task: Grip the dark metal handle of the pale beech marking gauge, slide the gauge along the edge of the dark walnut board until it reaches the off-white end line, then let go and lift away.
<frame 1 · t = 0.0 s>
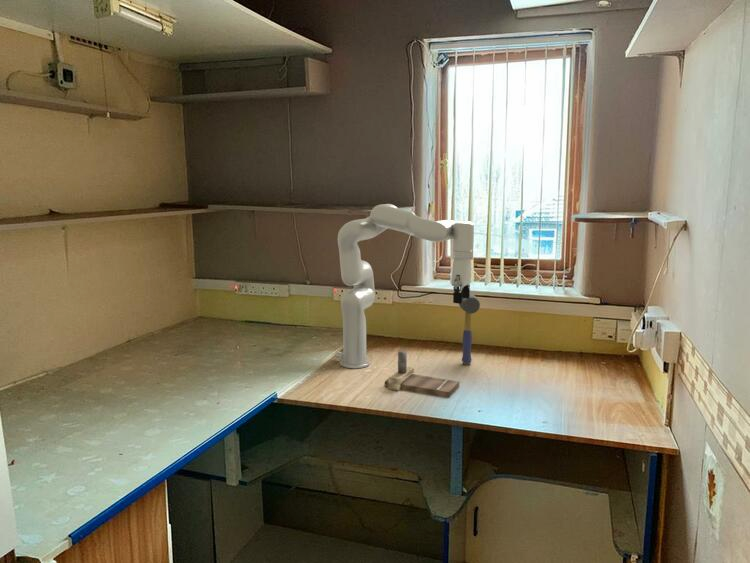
hand: (461, 300, 214), 31 cm above the table, tool pointing down, fingers open, 9 cm apart
walnut board: (421, 386, 213), on the table
marking gauge: (401, 367, 215), point 6 cm above the table, slide at -8.0 cm
rubber mallet: (466, 364, 239), on the table
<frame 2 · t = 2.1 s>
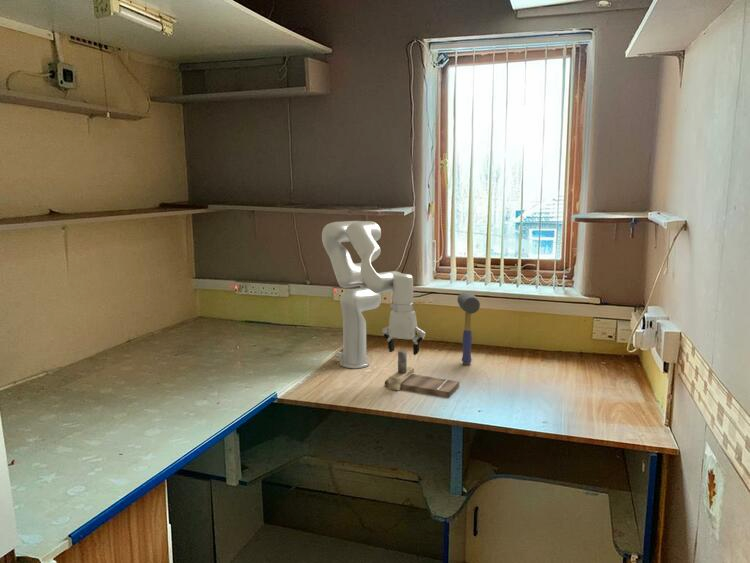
hand: (403, 352, 214), 12 cm above the table, tool pointing down, fingers open, 9 cm apart
nothing on the table moved.
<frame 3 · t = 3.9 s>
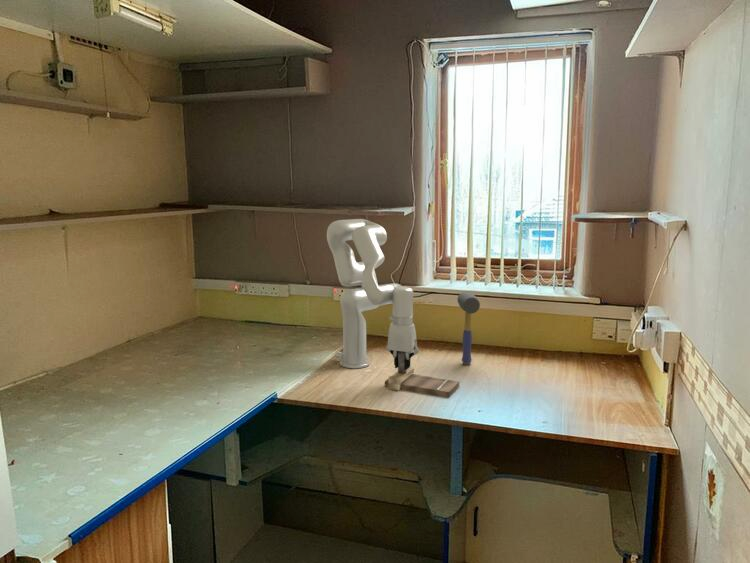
hand: (402, 367, 215), 6 cm above the table, tool pointing down, fingers closed on marking gauge, 3 cm apart
marking gauge: (401, 367, 215), point 6 cm above the table, slide at -8.0 cm, touching gripper
everything else where it was.
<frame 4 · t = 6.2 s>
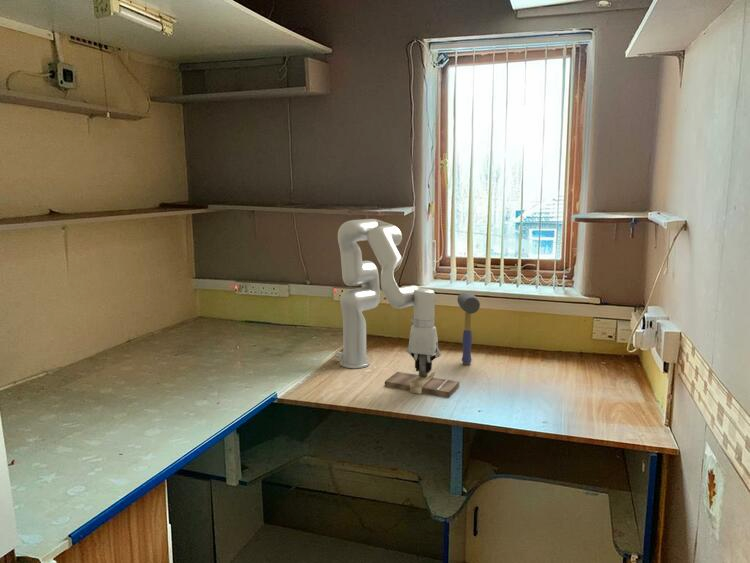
hand: (423, 370, 212), 6 cm above the table, tool pointing down, fingers closed on marking gauge, 3 cm apart
marking gauge: (422, 370, 211), point 6 cm above the table, slide at 0.4 cm, touching gripper
everything else where it was.
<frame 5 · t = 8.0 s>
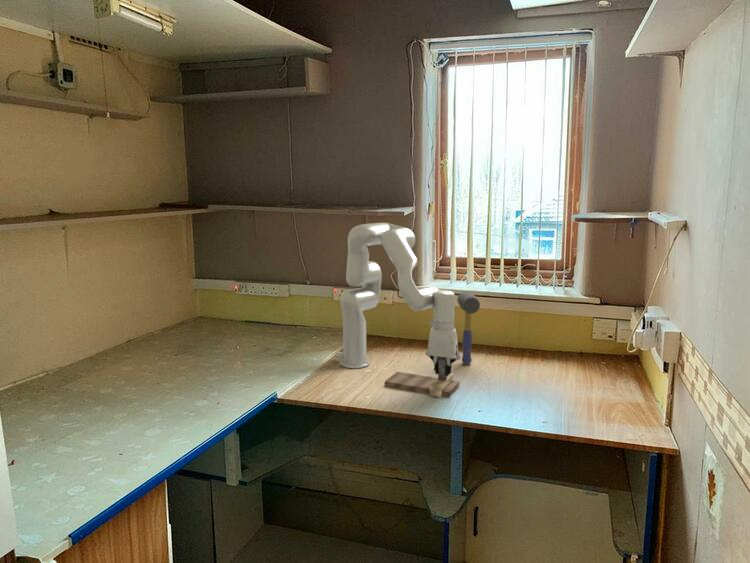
hand: (442, 373, 208), 6 cm above the table, tool pointing down, fingers closed on marking gauge, 3 cm apart
marking gauge: (442, 373, 208), point 6 cm above the table, slide at 7.9 cm, touching gripper
everything else where it was.
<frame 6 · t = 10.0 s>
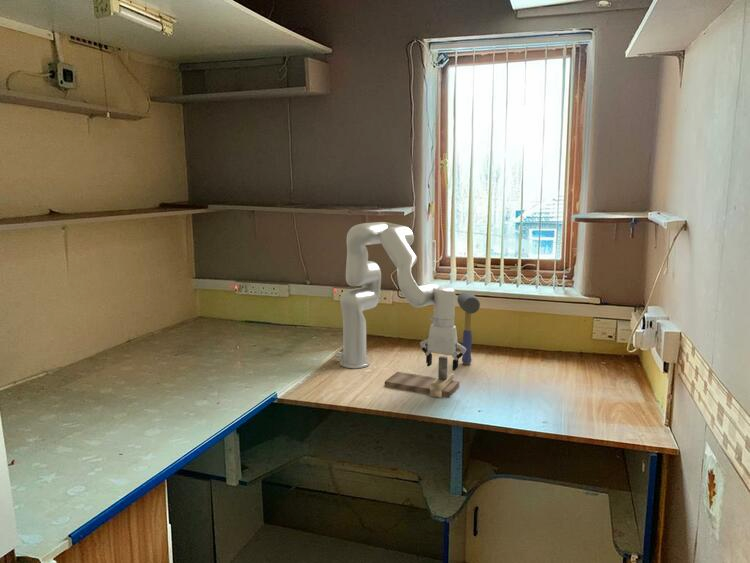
hand: (441, 367, 208), 8 cm above the table, tool pointing down, fingers open, 9 cm apart
marking gauge: (442, 373, 208), point 6 cm above the table, slide at 8.0 cm
everything else where it was.
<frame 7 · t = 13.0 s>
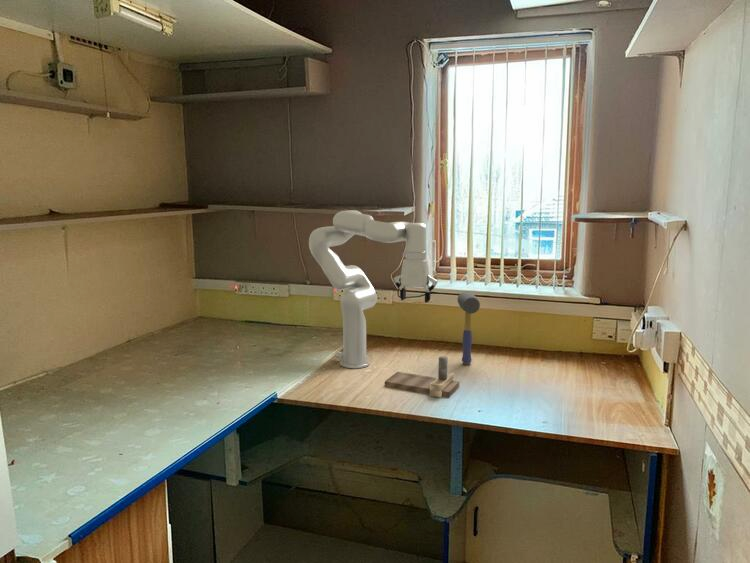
hand: (415, 300, 218), 30 cm above the table, tool pointing down, fingers open, 9 cm apart
nothing on the table moved.
at the end: marking gauge slide at 8.0 cm; the gripper is holding nothing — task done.
